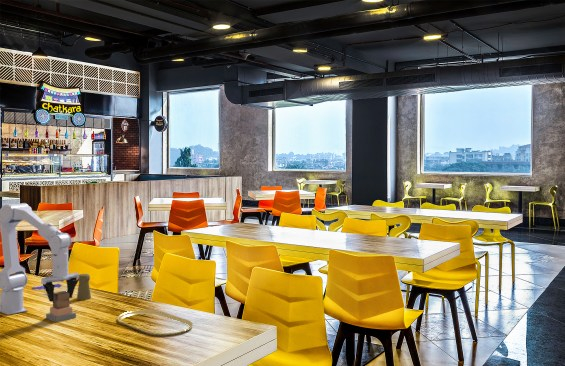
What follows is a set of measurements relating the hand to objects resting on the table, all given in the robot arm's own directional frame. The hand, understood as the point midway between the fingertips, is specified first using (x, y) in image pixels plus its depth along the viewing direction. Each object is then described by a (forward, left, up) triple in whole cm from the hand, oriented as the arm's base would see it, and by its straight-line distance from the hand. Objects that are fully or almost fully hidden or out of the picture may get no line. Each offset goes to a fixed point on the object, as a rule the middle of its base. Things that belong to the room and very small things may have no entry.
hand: (60, 299), depth 210 cm
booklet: (-44, +20, -8) cm, 49 cm away
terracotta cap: (0, 0, -6) cm, 6 cm away
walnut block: (0, 0, -3) cm, 3 cm away
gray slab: (0, 0, -8) cm, 8 cm away
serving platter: (+33, +20, -8) cm, 39 cm away
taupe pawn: (-21, +22, -8) cm, 31 cm away
